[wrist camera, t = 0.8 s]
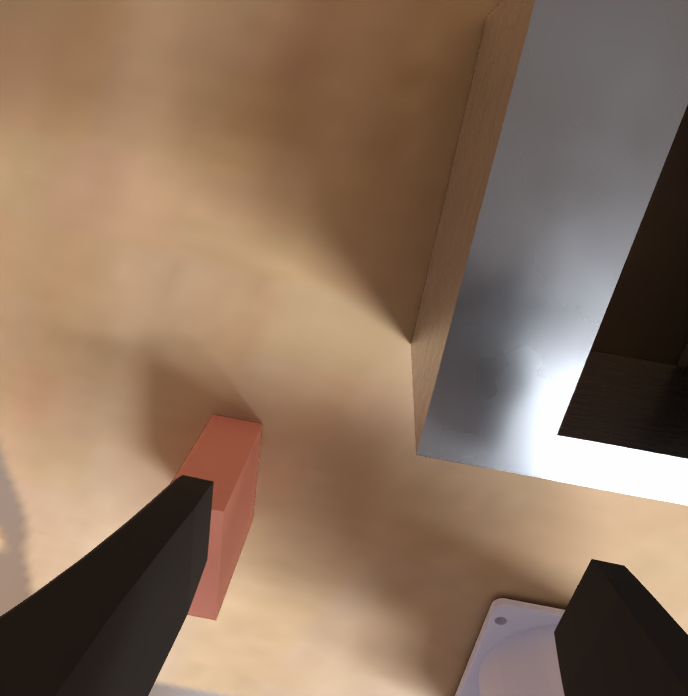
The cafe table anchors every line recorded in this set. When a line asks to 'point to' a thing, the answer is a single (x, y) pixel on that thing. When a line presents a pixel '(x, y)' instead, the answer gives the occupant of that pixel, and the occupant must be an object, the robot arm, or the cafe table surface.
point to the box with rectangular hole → (554, 252)
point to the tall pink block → (224, 501)
